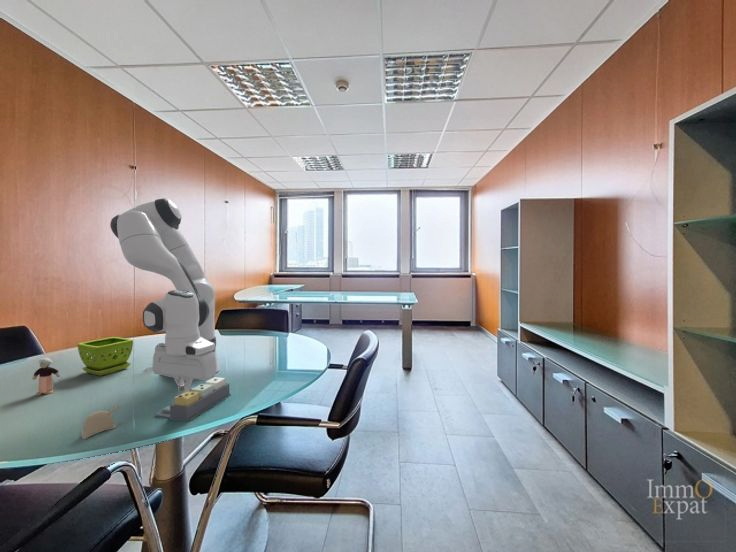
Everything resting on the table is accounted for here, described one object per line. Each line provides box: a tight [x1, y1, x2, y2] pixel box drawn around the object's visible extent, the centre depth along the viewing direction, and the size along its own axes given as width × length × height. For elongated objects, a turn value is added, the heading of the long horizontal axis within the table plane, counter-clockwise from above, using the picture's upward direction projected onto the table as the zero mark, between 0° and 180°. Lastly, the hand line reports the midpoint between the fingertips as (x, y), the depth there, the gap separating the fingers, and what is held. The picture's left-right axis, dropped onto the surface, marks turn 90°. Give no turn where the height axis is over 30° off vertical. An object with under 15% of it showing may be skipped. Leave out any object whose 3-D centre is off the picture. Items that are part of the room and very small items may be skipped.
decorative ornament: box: [80, 404, 120, 440], centre depth 83 cm, size 4×8×5 cm, turn 144°
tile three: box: [174, 391, 199, 407], centre depth 91 cm, size 4×4×4 cm
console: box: [154, 382, 232, 422], centre depth 98 cm, size 12×18×4 cm, turn 166°
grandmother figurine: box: [31, 356, 61, 396], centre depth 107 cm, size 8×4×13 cm, turn 117°
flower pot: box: [77, 336, 134, 376], centre depth 129 cm, size 14×14×13 cm
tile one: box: [204, 376, 227, 390], centre depth 103 cm, size 4×4×4 cm
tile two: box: [190, 383, 213, 398], centre depth 97 cm, size 4×4×4 cm
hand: (184, 390), depth 91 cm, fingers closed
